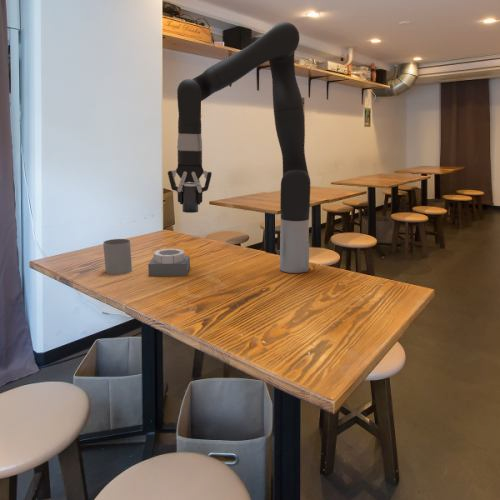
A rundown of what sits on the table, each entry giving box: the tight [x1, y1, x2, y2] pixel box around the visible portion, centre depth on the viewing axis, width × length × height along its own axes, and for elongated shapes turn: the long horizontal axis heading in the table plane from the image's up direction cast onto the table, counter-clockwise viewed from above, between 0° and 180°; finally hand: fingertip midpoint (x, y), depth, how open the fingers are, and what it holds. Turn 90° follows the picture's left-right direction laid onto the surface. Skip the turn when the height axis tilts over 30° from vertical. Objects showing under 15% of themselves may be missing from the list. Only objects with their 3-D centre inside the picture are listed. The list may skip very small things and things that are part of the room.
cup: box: [102, 238, 133, 276], centre depth 141 cm, size 8×8×10 cm
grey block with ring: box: [147, 248, 191, 277], centre depth 141 cm, size 12×10×6 cm
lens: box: [181, 182, 199, 214], centre depth 137 cm, size 5×5×9 cm
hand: (190, 203), depth 137 cm, fingers closed on lens, 5 cm apart
